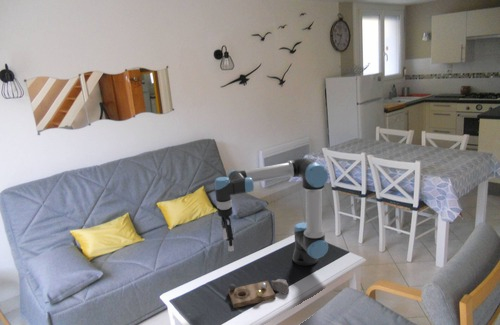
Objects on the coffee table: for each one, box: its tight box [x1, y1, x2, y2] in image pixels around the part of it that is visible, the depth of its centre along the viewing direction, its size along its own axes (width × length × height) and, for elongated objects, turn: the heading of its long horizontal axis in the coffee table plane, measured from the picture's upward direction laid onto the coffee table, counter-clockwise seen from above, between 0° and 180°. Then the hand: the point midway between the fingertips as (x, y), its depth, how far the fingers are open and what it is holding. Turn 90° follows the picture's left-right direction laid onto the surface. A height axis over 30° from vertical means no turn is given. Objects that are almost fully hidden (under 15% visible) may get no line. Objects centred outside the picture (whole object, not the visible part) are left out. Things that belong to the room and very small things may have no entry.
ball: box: [261, 283, 267, 290], centre depth 200 cm, size 4×4×4 cm
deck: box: [228, 280, 276, 309], centre depth 199 cm, size 22×13×2 cm, turn 104°
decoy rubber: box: [228, 283, 237, 291], centre depth 201 cm, size 4×4×4 cm
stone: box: [270, 278, 290, 295], centre depth 202 cm, size 10×8×6 cm
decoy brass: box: [256, 290, 263, 297], centre depth 194 cm, size 4×4×4 cm
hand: (228, 244), depth 198 cm, fingers open, 13 cm apart
